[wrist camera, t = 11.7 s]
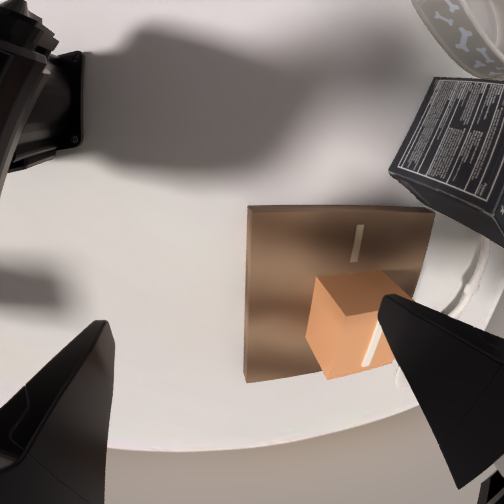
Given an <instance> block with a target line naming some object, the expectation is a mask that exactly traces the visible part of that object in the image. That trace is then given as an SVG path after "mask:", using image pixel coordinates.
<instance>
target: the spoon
mask: <svg viewBox="0 0 504 504" xmlns="http://www.w3.org/2000/svg"><path fill="white" fill-rule="evenodd" d="M489 246H490V239H488V238H486V237H485V236H483V235H481V249H480V256H479V260H478V263H477V266H476V268H475V271H474V273H473V275H472V277H471V279H470V280H469V282H468V283H467V284H466V285H465V287H464V290H463V291H464V296H463V298H462V299H461V301H460V302H459V304H458V305H457V306H456V307H455V308H454V310H453V311H451V312H450V313H449V314H448V315H447V316H450V317H452V318H455V319H457V320H458V318H459V316H460V315H461V313H462V312H463V311H464V309H465V308H466V306H467V305H468V303H469V302H470V300H471V298H472V297H473V295H474V294H475V293H476V292H477V291H478V289H479V283H480V280H481V277H482V275H483V272H484V270H485V267H486V264H487V260H488V255H489ZM395 385H396V387H397V388H398V389H400V390H409V389H411V387H410V385H409V383H408V381H407V379H406V378H405V376H404V374H403V372H402V370H401V368H400V366H399V367H398V370H397V374H396V378H395Z"/></svg>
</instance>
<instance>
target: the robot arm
mask: <svg viewBox="0 0 504 504" xmlns="http://www.w3.org/2000/svg"><path fill="white" fill-rule="evenodd" d="M54 35H55V34H54V33H53V32H52V31H50V30H49V29H48V28H46V27H45V26H44V25H42V18H40V17H38V16H36V15H35V14H33V13H31V12H30V11H28V9H27V2H26V1H24V0H7V1H5V2H3V3H1V4H0V196H1V192H2V188H3V185H4V182H5V178H6V175H7V173H11V172H15V171H20V170H24V169H27V168H30V167H32V166H35V165H37V164H40V163H43V162H45V161H48V160H51V159H53V158H54V157H55V155H56V151H57V150H62V149H68V148H74V147H77V146H80V145H81V144H82V142H83V77H84V61H85V55H84V53H82V52H81V51H74V52H70V53H66V54H62V55H58V56H56V55H53V54H51V51H54V49H55V48H56V46H57V45H58V43H59V41H58V40H56V39H55V38H53V36H54ZM78 55H79V59H78V60H77V61H75V60H74V59H75V57H76V56H78ZM74 136H77V138H78V141H77V142H76V143H74V141H73V138H74ZM377 318H378V322H379V324H380V326H381V328H382V330H383V333H384V335H385V337H386V340H387V342H388V344H389V347H390V349H391V351H392V353H393V355H394V357H395V359H396V361H397V363H398V365H399V366H400V368H401V370H402V372H403V374H404V376H405V378H406V379H407V381H408V383H409V385H410V387H411V389H412V391H413V393H414V395H415V397H416V399H417V401H418V403H419V405H420V406H421V409H422V411H423V413H424V415H425V417H426V419H427V421H428V423H429V425H430V427H431V429H432V431H433V433H434V436H435V438H436V440H437V442H438V444H439V447H440V449H441V451H442V453H443V456H444V458H445V460H446V463H447V465H448V467H449V470H450V472H451V474H452V477H453V479H454V481H455V484H456V486H457V488H458V489H461V488H462V487H464V486H465V485H466V484H468V483H469V482H471V481H472V480H473V479H474V478H476V477H477V476H478V475H480V474H481V473H482V472H483V471H485V470H486V469H487V468H488V467H489V466H491V465H492V464H493V463H494V465H495V466H496V468H497V470H496V471H495V472H494V473H493V474H491V475H490V476H489V477H488V478H487V479H486V480H485V481H483V482H482V483H481V488H480V493H479V498H478V502H477V504H504V339H503V338H500V337H498V336H495V335H493V334H490V333H488V332H485V331H483V330H481V329H478V328H476V327H475V328H474V327H473V326H471V325H469V324H466V323H464V322H462V321H459V320H457V319H455V318H452V317H450V316H447V315H445V314H443V313H440V312H438V311H436V310H433V309H431V308H428V307H426V306H424V305H421V304H419V303H416V302H414V301H411V300H409V299H407V298H404V297H402V296H399V295H397V294H387V295H384V296H383V298H382V301H381V304H380V307H379V311H378V315H377ZM114 359H115V342H114V338H113V335H112V332H111V329H110V325H109V323H108V321H106V320H95V321H93V322H92V323H91V324H90V325H89V326H88V327H86V328H85V329H84V330H83V331H82V332H81V333H80V334H79V335H78V336H76V337H75V338H74V339H73V340H72V341H71V342H70V343H69V344H68V345H67V346H65V347H64V348H63V349H62V350H61V351H60V352H59V353H58V354H57V355H56V356H55V357H54V358H53V359H51V360H50V361H49V362H48V363H47V364H46V365H45V366H44V367H43V368H42V369H41V370H40V371H39V372H38V373H37V374H36V375H35V376H34V377H33V378H32V379H30V380H29V381H28V382H27V383H26V385H25V386H26V387H25V386H23V387H22V388H21V389H20V390H19V391H18V392H17V393H16V394H15V395H14V396H13V397H12V398H11V399H10V400H9V401H8V402H7V403H6V404H4V405H3V406H2V407H1V408H0V504H104V491H105V466H106V452H107V440H108V429H109V420H110V412H111V404H112V396H113V384H114Z"/></svg>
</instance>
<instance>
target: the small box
mask: <svg viewBox="0 0 504 504" xmlns="http://www.w3.org/2000/svg"><path fill="white" fill-rule="evenodd" d="M388 171H389V174H390V176H392V177H393V178H394V179H397V180H398V181H399V183H401V184H402V185H404V186H405V187H406V188H407V189H408V190H409V191H410V192H411V193H412V194H414V195H415V196H416V198H417V199H418V200H419V201H420V202H422V203H424V204H425V205H426V206H428V207H430V208H432V209H434V210H436V211H438V212H440V213H442V214H444V215H446V216H448V217H450V218H452V219H454V220H456V221H458V222H459V223H461V224H463V225H465V226H467V227H469V228H471V229H472V230H474V231H476V232H478V233H479V234H481V235H483V236H485V237H486V238H488V239H490V240H491V241H493V242H495V243H496V244H498V245H500V246H501V247H503V248H504V81H498V80H487V79H473V78H447V77H434V79H433V81H432V83H431V86H430V87H429V90H428V92H427V94H426V96H425V99H424V101H423V103H422V105H421V107H420V109H419V111H418V113H417V115H416V117H415V119H414V122H413V124H412V125H411V127H410V130H409V132H408V133H407V136H406V137H405V139H404V141H403V143H402V145H401V147H400V149H399V151H398V153H397V155H396V157H395V159H394V160H393V162H392V164H391V166H390V168H389V170H388Z"/></svg>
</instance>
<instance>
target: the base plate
mask: <svg viewBox="0 0 504 504" xmlns="http://www.w3.org/2000/svg"><path fill="white" fill-rule="evenodd" d="M434 217H435V213H434V212H432V211H430V210H428V209H426V208H423V207H399V206H364V205H264V206H248V214H247V249H246V286H245V327H244V370H243V372H244V376H245V380H246V383H253V382H260V381H267V380H274V379H280V378H286V377H292V376H298V375H303V374H309V373H314V372H319V371H322V369H321V367H320V365H319V363H318V361H317V359H316V357H315V355H314V353H313V351H312V349H311V348H310V346H309V344H308V342H307V340H306V338H305V336H306V331H307V326H308V320H309V315H310V309H311V304H312V298H313V292H314V286H315V280H316V276H325V275H336V274H346V273H357V272H367V271H376V270H382V271H383V272H384V273H385V274H386V275H387V276H388V277H389V278H390V279H391V280H393V281H394V282H395V283H396V284H397V285H398V286H399V287H400V288H401V289H402V290H403V291H404V292H405V293H406V294H408V295H409V296H410V297H411V298H412V297H413V294H414V291H415V288H416V285H417V281H418V278H419V275H420V272H421V268H422V265H423V261H424V258H425V254H426V250H427V247H428V243H429V239H430V235H431V230H432V226H433V222H434Z"/></svg>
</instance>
